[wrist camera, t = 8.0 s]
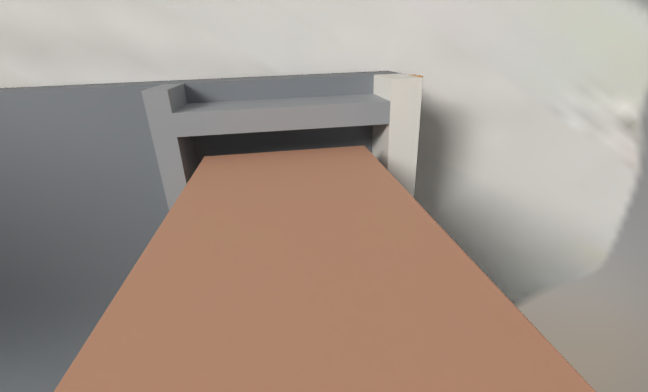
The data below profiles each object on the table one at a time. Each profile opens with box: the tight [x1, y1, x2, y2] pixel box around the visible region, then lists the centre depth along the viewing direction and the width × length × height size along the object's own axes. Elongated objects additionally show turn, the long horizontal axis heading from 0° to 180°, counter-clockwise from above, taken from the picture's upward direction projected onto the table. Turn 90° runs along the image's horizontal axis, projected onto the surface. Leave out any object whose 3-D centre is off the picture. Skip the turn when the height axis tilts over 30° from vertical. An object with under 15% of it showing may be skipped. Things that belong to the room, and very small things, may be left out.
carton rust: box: [54, 146, 596, 392], centre depth 8 cm, size 8×5×10 cm, turn 2°
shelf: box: [0, 71, 423, 392], centre depth 16 cm, size 22×18×4 cm
